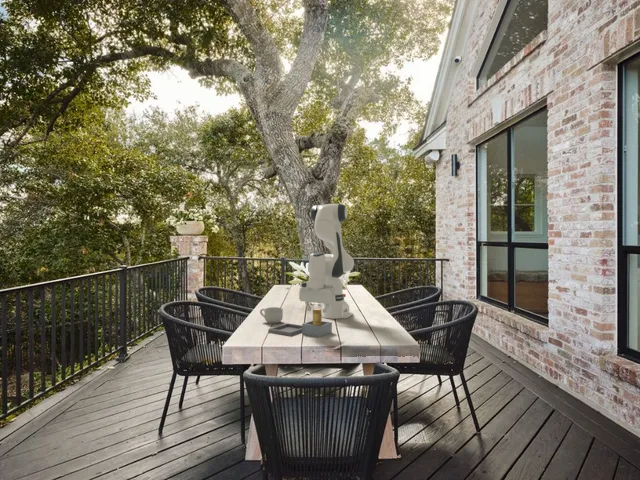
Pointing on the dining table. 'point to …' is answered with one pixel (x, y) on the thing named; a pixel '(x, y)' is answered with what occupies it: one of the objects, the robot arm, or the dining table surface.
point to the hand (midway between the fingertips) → (316, 311)
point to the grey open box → (317, 329)
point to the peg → (317, 317)
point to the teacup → (272, 314)
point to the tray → (286, 329)
